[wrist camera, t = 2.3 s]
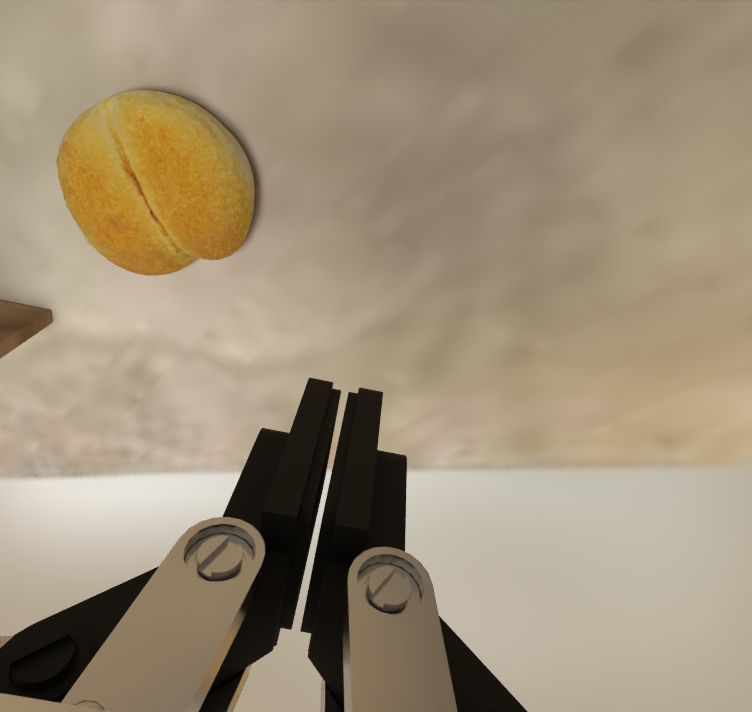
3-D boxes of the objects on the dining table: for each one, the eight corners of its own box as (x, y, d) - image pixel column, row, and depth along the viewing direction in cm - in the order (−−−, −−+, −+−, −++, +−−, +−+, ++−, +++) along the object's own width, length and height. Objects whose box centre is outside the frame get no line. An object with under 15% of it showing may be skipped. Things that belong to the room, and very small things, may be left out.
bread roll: (283, 235, 27) (263, 260, 23) (135, 277, 29) (95, 306, 25) (216, 60, 23) (181, 59, 20) (51, 120, 25) (-9, 129, 21)
